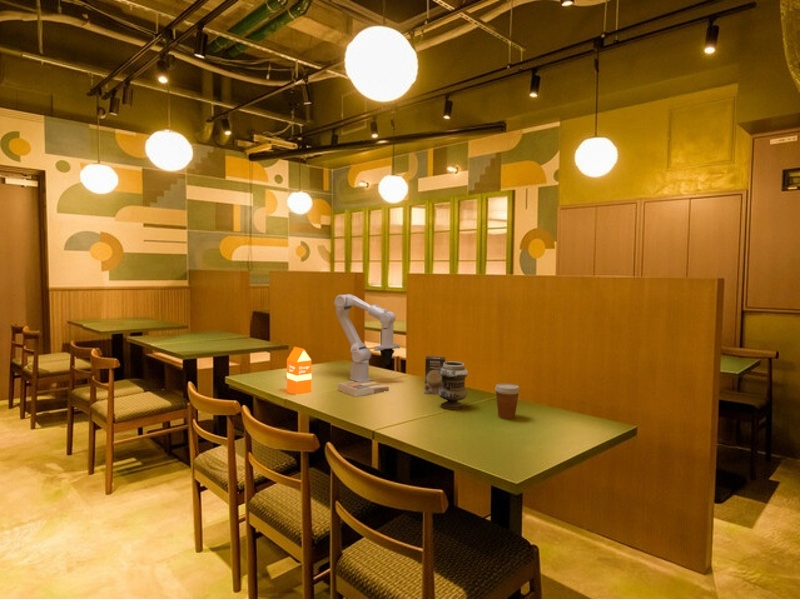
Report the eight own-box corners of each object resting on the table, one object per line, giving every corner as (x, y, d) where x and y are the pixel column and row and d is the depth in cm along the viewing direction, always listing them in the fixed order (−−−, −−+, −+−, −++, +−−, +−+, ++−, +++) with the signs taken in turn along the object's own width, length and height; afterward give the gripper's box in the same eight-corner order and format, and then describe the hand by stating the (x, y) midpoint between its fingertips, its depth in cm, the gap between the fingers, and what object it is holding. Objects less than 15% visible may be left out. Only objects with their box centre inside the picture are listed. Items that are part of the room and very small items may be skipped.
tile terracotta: (347, 388, 236) (347, 384, 236) (355, 386, 240) (356, 382, 240) (353, 390, 233) (353, 386, 233) (362, 388, 236) (362, 384, 236)
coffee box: (423, 393, 231) (424, 358, 230) (424, 390, 238) (425, 355, 237) (444, 394, 230) (445, 359, 229) (444, 391, 237) (445, 356, 236)
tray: (337, 390, 235) (337, 382, 235) (354, 387, 241) (355, 379, 241) (356, 397, 224) (356, 389, 224) (374, 393, 230) (374, 386, 230)
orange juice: (296, 394, 226) (296, 349, 225) (286, 391, 233) (286, 347, 231) (311, 392, 231) (311, 348, 230) (301, 388, 238) (301, 345, 237)
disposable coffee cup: (489, 414, 200) (490, 384, 200) (509, 412, 204) (510, 382, 203) (503, 421, 192) (504, 389, 191) (524, 418, 196) (525, 387, 195)
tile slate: (355, 391, 231) (355, 386, 231) (364, 389, 235) (364, 385, 234) (362, 393, 228) (362, 389, 227) (371, 391, 231) (371, 387, 231)
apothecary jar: (455, 412, 203) (456, 367, 202) (431, 406, 211) (432, 362, 210) (473, 406, 212) (474, 363, 211) (449, 400, 220) (450, 359, 219)
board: (355, 387, 242) (355, 382, 242) (369, 384, 247) (369, 380, 247) (374, 393, 230) (374, 389, 230) (388, 390, 235) (388, 386, 235)
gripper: (380, 338, 241) (380, 367, 242) (404, 336, 251) (403, 363, 251) (371, 337, 247) (371, 364, 248) (395, 334, 256) (394, 361, 257)
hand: (387, 364), depth 250 cm, fingers closed
